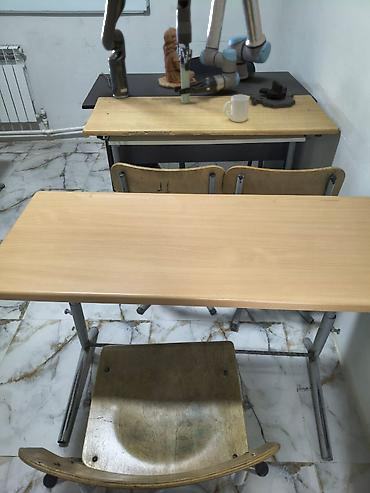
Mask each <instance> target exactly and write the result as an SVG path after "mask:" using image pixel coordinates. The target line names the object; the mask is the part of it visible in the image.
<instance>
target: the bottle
mask: <svg viewBox="0 0 370 493" xmlns="http://www.w3.org/2000/svg"><path fill="white" fill-rule="evenodd" d="M189 71H190V70H189ZM189 71H185V68H181V89H184V88H189V87H190V79H189ZM180 96H181V104H190V103H191V93H188V94H183V95H180Z"/></svg>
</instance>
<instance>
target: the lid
mask: <svg viewBox="0 0 370 493" xmlns="http://www.w3.org/2000/svg"><path fill="white" fill-rule="evenodd" d="M180 67H181V68H185V62H181V63H180ZM190 67H191V62H190V63H189V68H190Z"/></svg>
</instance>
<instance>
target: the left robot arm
mask: <svg viewBox="0 0 370 493" xmlns="http://www.w3.org/2000/svg"><path fill="white" fill-rule="evenodd" d="M105 1H106V2H105V12H104V20H103V24H102V25H103V26H102V31H101V44H102V47H103V49H104V50H105V51H107V52H112V53H111V54H110V56H109V57H108V58H107V64H108V70H109V75H110V78H109V76H108V75H106V74H105V73H104V72H101V73H100V76H102V75H103V77H105V78H106V79H107V83H108V86H109V87H110V88H111V89H112V97H113V98H114V99H125V98H128V97H130V90H129V89H130V88H129V82H128V81H129V79H128V74H127V66H126V65H127V64H126V58H127V50H126V41H125V36H124V33H123V32H122V30H121V29H119V28H116V27H117V23H118V21H119V19H120V18H121V15H122V14H123V12H124V10H125V7H126V3H127V0H105ZM176 1H177V2H176V9H175V14H176V15H175V17H176V18H175V20H176V23H175V29H176V37H177V43H179V45H177V50H176V52H177V53H178V58H180V63H181V62H185V71H190V67H189V63H190V64H191V63H192V60H193V49H192V48H191V49H190V44H191V43H192V42H193V30H192V29H193V28H192V26H193V24H192V7H191V6H192V0H176Z"/></svg>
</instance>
